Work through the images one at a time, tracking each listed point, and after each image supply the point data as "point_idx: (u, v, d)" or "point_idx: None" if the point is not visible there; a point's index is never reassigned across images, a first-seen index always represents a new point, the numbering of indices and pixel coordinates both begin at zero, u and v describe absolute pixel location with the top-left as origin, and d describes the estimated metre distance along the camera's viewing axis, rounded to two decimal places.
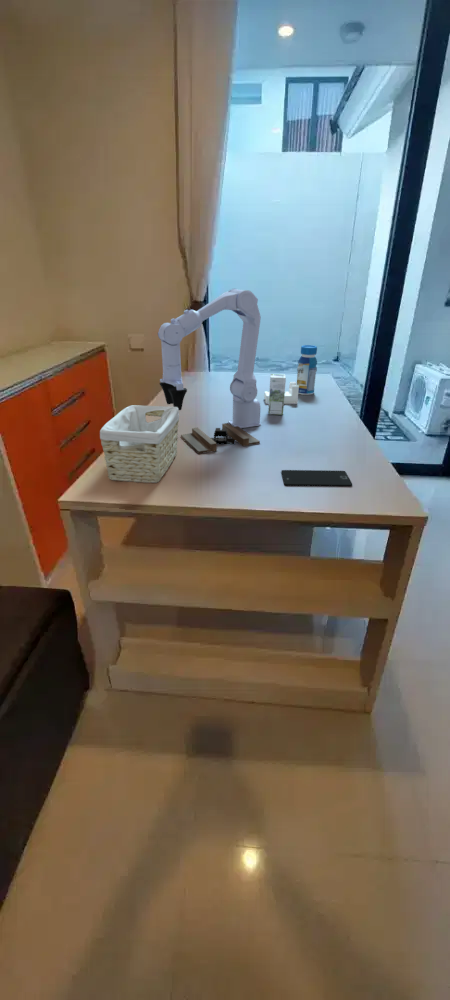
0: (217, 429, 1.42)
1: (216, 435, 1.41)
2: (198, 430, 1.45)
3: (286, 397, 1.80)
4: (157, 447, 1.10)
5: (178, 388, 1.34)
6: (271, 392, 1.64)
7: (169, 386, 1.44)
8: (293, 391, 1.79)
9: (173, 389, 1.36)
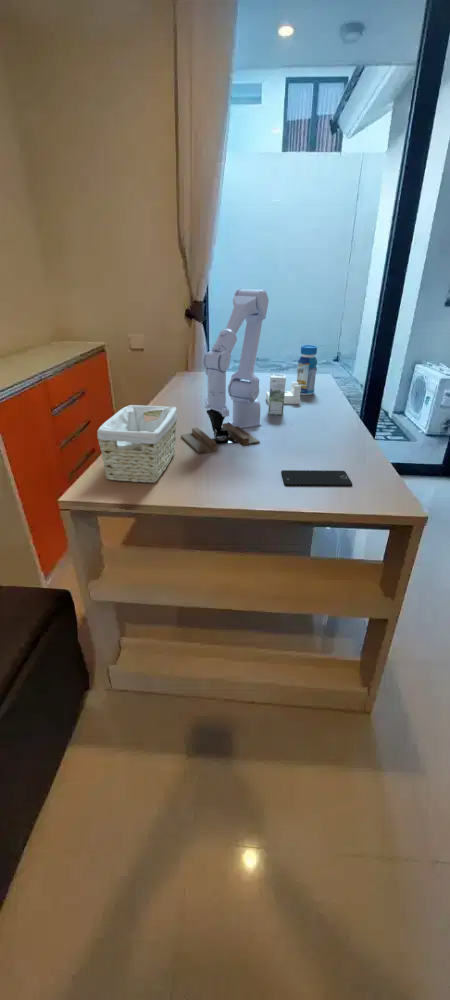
0: (217, 429, 1.42)
1: (218, 435, 1.41)
2: (198, 430, 1.45)
3: (288, 397, 1.80)
4: (154, 447, 1.10)
5: (224, 415, 1.35)
6: (271, 392, 1.64)
7: None
8: (295, 391, 1.79)
9: (214, 412, 1.40)
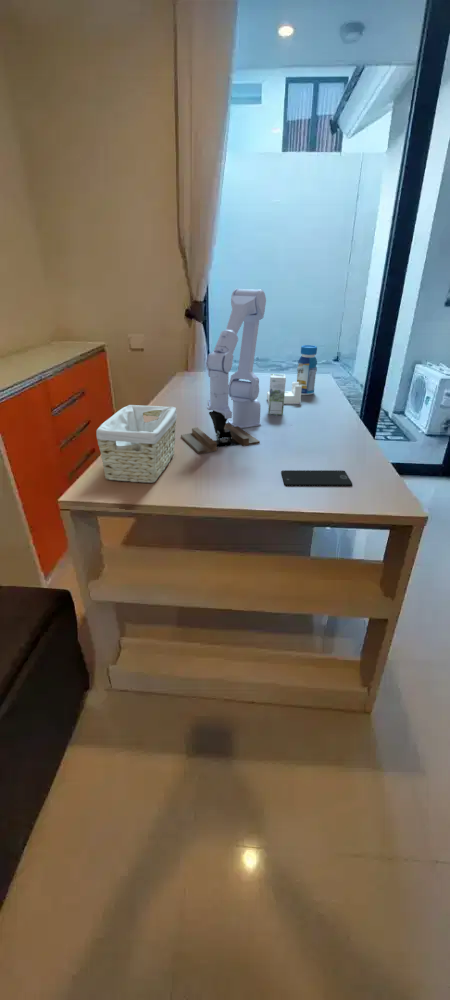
0: (220, 431, 1.40)
1: (221, 437, 1.39)
2: (198, 430, 1.45)
3: (289, 397, 1.80)
4: (153, 447, 1.10)
5: (227, 416, 1.34)
6: (271, 392, 1.64)
7: None
8: (296, 391, 1.79)
9: (216, 414, 1.38)
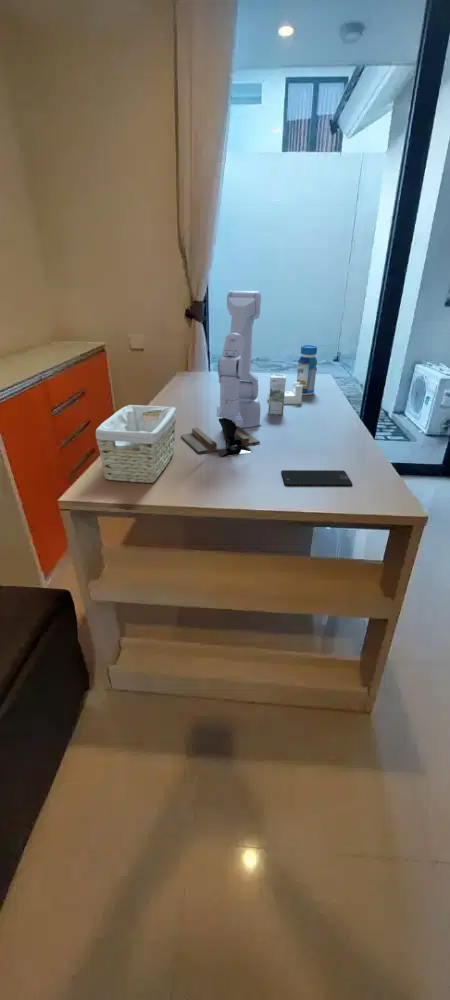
0: (230, 438, 1.34)
1: (231, 445, 1.34)
2: (198, 430, 1.45)
3: (290, 397, 1.80)
4: (152, 447, 1.10)
5: (238, 424, 1.28)
6: (271, 392, 1.64)
7: None
8: (297, 391, 1.79)
9: (226, 421, 1.32)
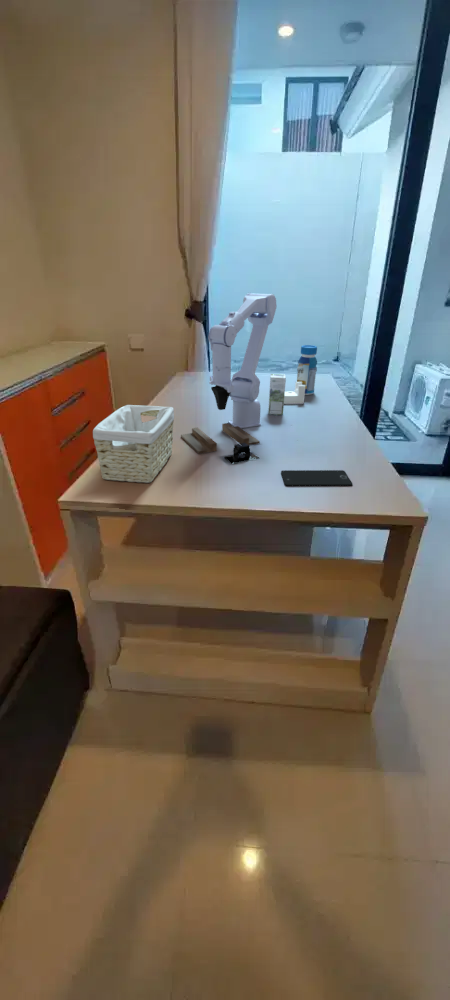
0: (238, 445, 1.29)
1: (239, 452, 1.29)
2: (198, 430, 1.45)
3: (292, 397, 1.80)
4: (149, 447, 1.10)
5: (229, 390, 1.33)
6: (271, 392, 1.64)
7: None
8: (299, 391, 1.79)
9: (219, 388, 1.38)
